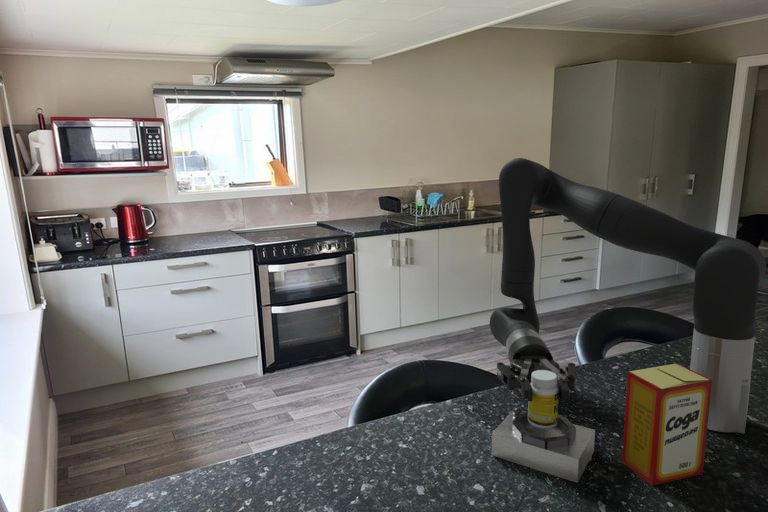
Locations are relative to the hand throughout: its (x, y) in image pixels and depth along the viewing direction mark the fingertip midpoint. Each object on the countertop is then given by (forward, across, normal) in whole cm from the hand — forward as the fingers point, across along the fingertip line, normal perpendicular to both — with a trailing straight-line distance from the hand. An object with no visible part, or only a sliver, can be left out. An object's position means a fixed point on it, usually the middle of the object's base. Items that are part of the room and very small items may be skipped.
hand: (547, 396), depth 84 cm
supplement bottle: (-3, 0, +6) cm, 7 cm away
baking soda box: (+1, +18, +12) cm, 21 cm away
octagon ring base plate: (-2, 0, +12) cm, 12 cm away
